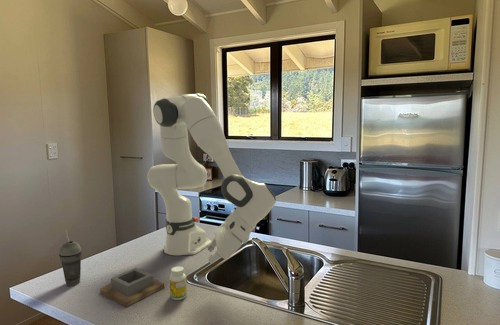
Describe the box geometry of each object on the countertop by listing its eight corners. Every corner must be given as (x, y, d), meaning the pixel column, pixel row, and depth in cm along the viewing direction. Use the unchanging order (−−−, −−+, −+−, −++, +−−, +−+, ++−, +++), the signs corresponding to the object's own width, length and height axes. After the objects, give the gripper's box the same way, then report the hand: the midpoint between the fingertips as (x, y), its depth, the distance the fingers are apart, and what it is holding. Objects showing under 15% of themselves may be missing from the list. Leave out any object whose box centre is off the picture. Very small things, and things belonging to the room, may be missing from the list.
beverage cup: (74, 289, 117) (70, 234, 115) (56, 287, 119) (51, 232, 116) (88, 279, 124) (84, 227, 122) (71, 277, 126) (67, 226, 123)
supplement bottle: (188, 298, 111) (187, 270, 109) (172, 302, 109) (170, 273, 107) (184, 290, 116) (183, 264, 114) (169, 294, 113) (167, 267, 112)
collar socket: (138, 276, 127) (137, 263, 126) (164, 287, 118) (163, 274, 117) (100, 292, 115) (99, 279, 114) (126, 307, 106) (125, 292, 105)
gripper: (228, 210, 122) (201, 238, 121) (234, 228, 102) (202, 262, 101) (240, 222, 123) (214, 249, 123) (249, 242, 103) (218, 275, 103)
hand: (209, 255), depth 112 cm, fingers open, 8 cm apart
